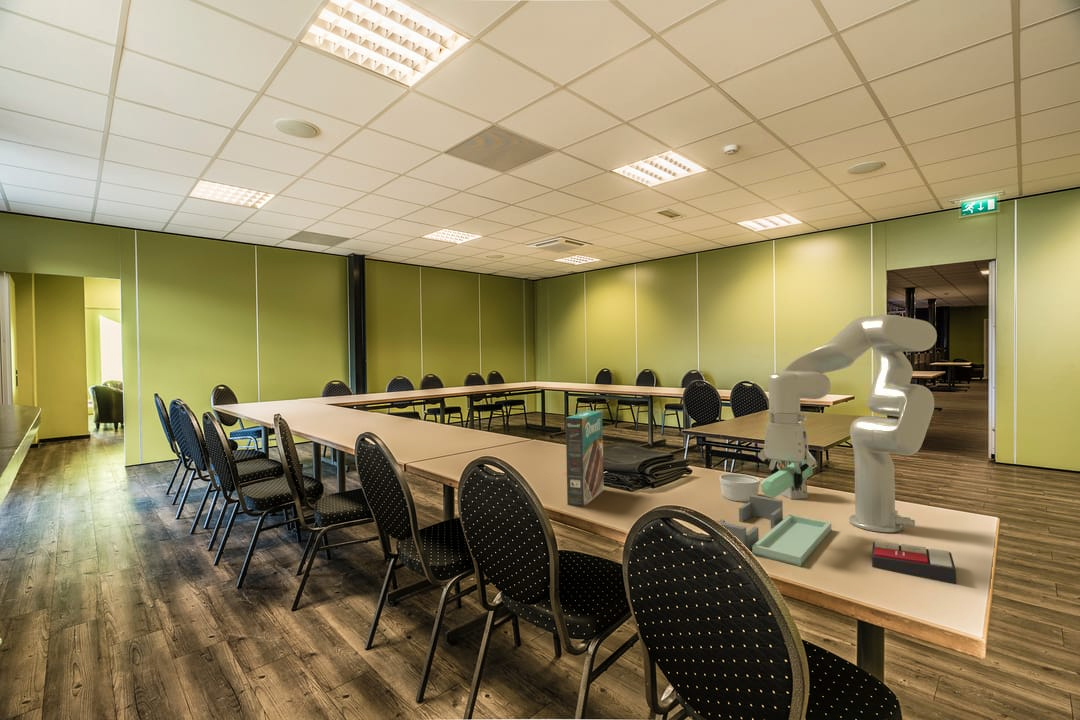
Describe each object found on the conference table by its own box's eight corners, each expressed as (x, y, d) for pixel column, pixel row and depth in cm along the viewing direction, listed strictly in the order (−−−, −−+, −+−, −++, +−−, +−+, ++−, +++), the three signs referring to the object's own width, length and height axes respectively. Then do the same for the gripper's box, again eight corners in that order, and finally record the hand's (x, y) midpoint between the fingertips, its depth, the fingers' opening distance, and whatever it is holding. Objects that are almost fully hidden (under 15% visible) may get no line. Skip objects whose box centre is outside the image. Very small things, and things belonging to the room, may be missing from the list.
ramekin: (765, 496, 169) (764, 477, 169) (753, 505, 159) (753, 484, 159) (727, 490, 177) (726, 471, 177) (713, 498, 167) (713, 478, 167)
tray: (831, 530, 135) (831, 522, 135) (800, 566, 112) (800, 557, 112) (789, 521, 143) (789, 514, 143) (752, 554, 120) (752, 545, 120)
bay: (784, 520, 144) (784, 500, 144) (745, 553, 121) (745, 529, 121) (750, 513, 151) (750, 494, 151) (707, 543, 128) (707, 521, 127)
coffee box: (808, 498, 165) (807, 452, 165) (791, 499, 164) (790, 453, 164) (791, 491, 174) (790, 447, 174) (775, 492, 173) (774, 448, 173)
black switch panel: (872, 538, 120) (950, 548, 111) (874, 555, 120) (952, 567, 111) (871, 553, 112) (955, 565, 103) (872, 571, 112) (957, 585, 103)
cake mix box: (583, 506, 161) (582, 418, 161) (567, 504, 164) (565, 417, 163) (603, 489, 181) (602, 411, 181) (588, 488, 183) (587, 410, 183)
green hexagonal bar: (774, 475, 119) (807, 455, 136) (752, 480, 123) (787, 460, 140) (784, 498, 117) (817, 475, 135) (762, 503, 121) (796, 480, 139)
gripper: (823, 419, 125) (826, 487, 126) (757, 415, 137) (759, 477, 138) (815, 422, 120) (818, 494, 120) (747, 418, 132) (749, 483, 132)
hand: (786, 484), depth 129 cm, fingers closed on green hexagonal bar, 4 cm apart
